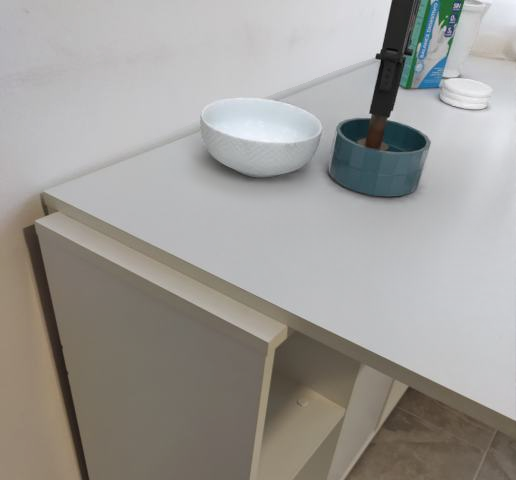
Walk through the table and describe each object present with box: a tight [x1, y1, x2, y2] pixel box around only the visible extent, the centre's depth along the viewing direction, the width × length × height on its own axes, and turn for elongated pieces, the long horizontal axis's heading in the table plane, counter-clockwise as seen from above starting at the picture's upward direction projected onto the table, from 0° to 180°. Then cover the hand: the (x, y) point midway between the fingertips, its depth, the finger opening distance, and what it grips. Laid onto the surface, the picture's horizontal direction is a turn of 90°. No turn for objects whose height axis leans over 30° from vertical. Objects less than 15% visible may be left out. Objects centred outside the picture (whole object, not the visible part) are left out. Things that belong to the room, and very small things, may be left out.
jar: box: [442, 0, 487, 79], centre depth 124 cm, size 11×10×15 cm
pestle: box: [357, 16, 415, 151], centre depth 70 cm, size 4×4×20 cm
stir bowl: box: [328, 117, 432, 197], centre depth 77 cm, size 13×13×6 cm
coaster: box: [439, 77, 493, 110], centre depth 111 cm, size 10×10×4 cm
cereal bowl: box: [199, 97, 323, 179], centre depth 76 cm, size 17×17×7 cm
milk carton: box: [399, 0, 465, 90], centre depth 112 cm, size 9×9×25 cm
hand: (381, 111), depth 72 cm, fingers closed on pestle, 2 cm apart
